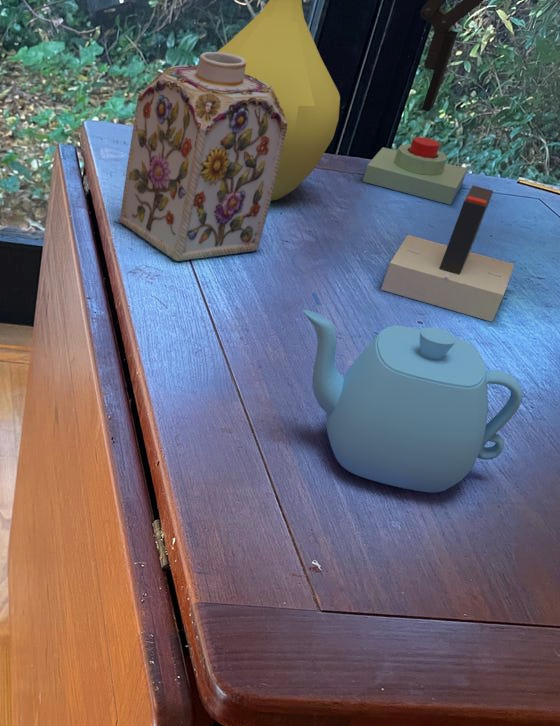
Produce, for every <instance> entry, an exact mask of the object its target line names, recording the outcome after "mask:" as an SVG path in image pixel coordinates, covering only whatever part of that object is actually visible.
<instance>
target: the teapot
mask: <svg viewBox="0 0 560 726" xmlns="http://www.w3.org/2000/svg"><path fill="white" fill-rule="evenodd" d="M302 312H303V314H304V315H305V316H306V318H307V319H308V320H309V322H310V323H311V325H312V326H313V328H314V331H315V333H316V339H317V345H316V354H315V360H314V365H313V373H312V391H313V395H314V398H315V400H316V401H317V403H318V405H319V407H320V408H321V409H322V410H323V411H324V413H325V414H326V418H325V419H326V420H325V427H326V433H327V437H328V440H329V444H330V447H331V450H332V452H333V455H334V457H335V459H336V461H337V462H338V464H339V465H340V466H341V467H342V468H343V469H345V470H346V471H348V472H350V473H351V474H354V475H356V476H358V477H361V478H364V479H366V480H370V481H374V482H376V483H379V484H384V485H388V486H390V487H391V486H392V487H396V488H400V489H405V490H406V489H407V490H411V491H416V492H424V493H441V492H444V491H447V490H448V489H450V488H452V487H453V486H455V485H457V484H458V483H460V482H461V481H463V479H465V477H466V476H467V475H468V474H469V473H470V472H471V470H472V469H473V468H474V465H475V464H476V461H477V459H480V460H486V461H488V460H493V459H496V458H497V457H498V456H500V455H501V453H503V452H502V451H503V450H504V447H505V440H504V438H503V437H502V435H500V434H499V433H498V432H499V431H500V430H501V429H502V428H503V427H504V426H505V425H506V424H507V423H508V422H509V421H510V420H511V419H512V418H513V417H514V415H515V414H516V413H517V412H518V410H519V408H520V406H521V404H522V401H523V390H522V387H521V385H520V383H519V382H518V380H517V379H516V378H515V377H514V376H513V375H511V374H510V373H508V372H506V371H502V370H495V369H492V370H491V369H490V370H487V368H486V367H487V366H486V364H485V360H484V359H483V357H482V354H481V353H480V352H479V350H478V349H477V348H476V347H475V345H473V344H472V343H470V342H468V341H467V340H464V339H462V338H459V337H456V336H455V335H454V334H453V333H451V332H450V331H448V330H446V329H443V328H439V327H428V326H427V327H423V328H416V327H411V326H406V325H405V326H404V325H390V326H388V327H385V328H383V329H382V330H381V331H380V332H379V333H377V335H376V336H374V338H373V339H372V340H371V341H370V342H369V344H368V345H367V346H366V347H365V348H364V349H363V351H362V352H360V353H359V355H358V356H357V357H356V359H354V361H353V362H352V364H351V365H350V366H349V368H348V369H347V371H346V372H345V374H344V375H342V373H340V372H339V370H338V368H337V366H336V362H335V361H336V360H335V357H336V350H337V341H338V340H337V339H338V338H337V331H336V329H335V327H334V324H332V322H331V321H330V320H328V319H327V318H326V317H324V316H323V315H321V314H319V313H317V312H314V311H312V310H309V309H303V310H302ZM488 384H489V385H490V384H491V385H500V386H502V387H504V388H506V389H508V390H509V391H510V395H509V398H508V400H507V401H506V403H505V404H504V406H503V407H501V409H500V410H499V412H497V413H496V415H494V416H493V418H491V419H490V420H489V422H487V421H488V412H489V410H488V408H489V400H488V399H489V397H488V396H489V395H488V393H489V391H488ZM488 442H491V443H494V445H492V446H486V444H487V443H488Z"/></svg>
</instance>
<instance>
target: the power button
mask: <svg viewBox="0 0 560 726" xmlns="http://www.w3.org/2000/svg"><path fill="white" fill-rule="evenodd" d="M410 144H411V147H410V150H409V152H410V153H412V154H414V155H417V156H421V157H424V158H436V155H437V152H438V151H439V150H440V146H441V143H440V142H439V141H438V140H435V139H433V138H429V137H425V136H415V137H413V138H412V140H411V143H410Z"/></svg>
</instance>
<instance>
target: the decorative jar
mask: <svg viewBox="0 0 560 726" xmlns="http://www.w3.org/2000/svg"><path fill="white" fill-rule="evenodd" d="M245 67H246V61H245V59H243V58H242V57H240V56H237V55H233V54H229V53H222V52H218V51H206V52H203V53H201V54H200V55H199V58H198V65H191V64H188V65H185V64H184V65H183V64H181V65H172V66H170V67H168V68H167V69H165V70H164V71H163V72H161V73H160V74H158V75H157V76H155V77H154V79H152V81H151V82H150V83H149V84H147V85H146V86H145V87H144V89H143V90H142V91H141V92H140V93H139V94H138V96H137V100H136V108H135V113H134V121H133V126H132V133H131V140H130V144H129V145H130V147H129V152H128V157H127V165H126V171H125V179H124V186H123V192H122V193H123V194H122V202H121V210H120V217H119V222H120V223H121V224H122V225H124V226H125V227H127V228H129V229H130V230H131V231H132V232H134V233H135V234H137V235H138V236H139V237H141V238H142V239H144V240H145V241H147V242H148V243H150V244H151V245H152V246H153V247H155V248H156V249H158V250H159V251H161V252H162V253H163V254H165V255H167V257H169V258H171V259H172V260H173V261H176V262H180V261H181V262H182V261H188V260H196V259H203V258H210V257H211V258H212V257H220V256H226V255H227V256H229V255H236V254H244V253H250V252H255V251H257V250H258V249H259V247H260V244H261V241H262V236H263V232H264V230H265V229H264V228H265V225H266V222H267V217H268V213H269V209H270V205H271V202H272V201H271V197H272V192H273V188H274V184H275V179H276V175H277V171H278V167H279V162H280V157H281V153H282V148H283V144H284V140H285V135H286V132H287V126H288V125H287V121H286V119H285V115H284V112H283V109H282V108H281V106H280V103H279V101H278V98H277V97H276V95H275V92H274V90H273V88H272V86H270V85H268V84H266V83H264V82H262V81H260V80H258V79H256V78H254V77H251V76H249V75H246V74H244V73H245Z"/></svg>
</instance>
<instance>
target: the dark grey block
mask: <svg viewBox="0 0 560 726" xmlns="http://www.w3.org/2000/svg"><path fill="white" fill-rule="evenodd" d="M493 194H494V190H492V189H489V188H486V187H485V188H484V187H482V186H481V187H480V186H477V185H471V188H470V189H469V191H468V193H467V195H466V197H465V198H464V200H463V203H462V205H461V208H460V211H459V214H458V217H457V220H456V222H455V225H454V228H453V230H452V233H451V236H450V239H449V241H448V243H447V249H446V252H445V254H444V257H443V260H442V262H441V265H440V268H439V269H442V270H446V271H449V272H453V273H456V274H460V273H461V271H462V269H463V266H464V264H465V262H466V260H467V258H468V256H469V253H470V252H471V250H472V247H473V246H474V243H475V240H476V237H477V235H478V232H479V230H480V227H481V225H482V222H483V219H484V217H485V214H486V212H487V209H488V206H489V204H490V202H491V199H492V197H493Z"/></svg>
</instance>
